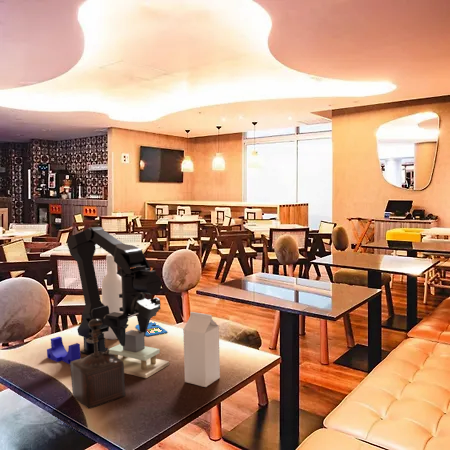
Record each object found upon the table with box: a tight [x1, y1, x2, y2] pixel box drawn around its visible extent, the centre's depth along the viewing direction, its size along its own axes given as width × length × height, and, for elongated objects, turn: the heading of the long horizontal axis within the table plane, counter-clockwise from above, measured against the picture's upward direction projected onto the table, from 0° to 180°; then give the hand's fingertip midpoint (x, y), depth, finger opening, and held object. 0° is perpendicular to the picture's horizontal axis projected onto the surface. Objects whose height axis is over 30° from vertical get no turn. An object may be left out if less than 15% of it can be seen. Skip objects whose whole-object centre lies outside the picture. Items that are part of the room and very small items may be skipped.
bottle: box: [101, 253, 127, 340], centre depth 164 cm, size 8×8×30 cm
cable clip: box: [46, 336, 82, 366], centre depth 143 cm, size 12×4×6 cm, turn 50°
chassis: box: [113, 354, 170, 379], centre depth 137 cm, size 18×11×4 cm, turn 61°
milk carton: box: [182, 311, 221, 388], centre depth 125 cm, size 7×7×19 cm
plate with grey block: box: [108, 329, 161, 361], centre depth 137 cm, size 7×14×6 cm, turn 61°
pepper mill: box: [69, 319, 126, 409], centre depth 119 cm, size 16×11×18 cm
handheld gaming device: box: [135, 321, 168, 338], centre depth 173 cm, size 8×1×15 cm
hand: (133, 341), depth 137 cm, fingers open, 9 cm apart
